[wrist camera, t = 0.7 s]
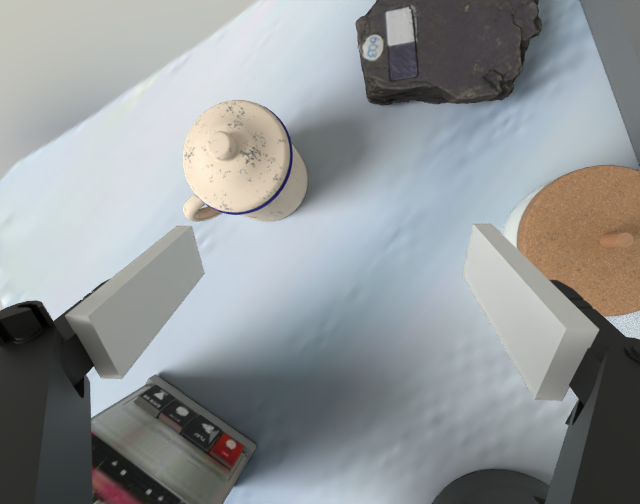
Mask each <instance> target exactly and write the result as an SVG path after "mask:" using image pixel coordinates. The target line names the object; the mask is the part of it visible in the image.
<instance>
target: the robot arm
mask: <svg viewBox="0 0 640 504" xmlns="http://www.w3.org/2000/svg"><path fill="white" fill-rule="evenodd" d="M204 274H205V273H204V269H203V266H202V262H201V258H200V255H199V251H198V247H197V244H196V240H195V236H194V233H193V229H192V226H176V227H175V228H174V229H172V230H171V231H170V232H169V233H167V234H166V235H165V236H164V237H162V238H161V239H160V240H159V241H157V242H156V243H155V244H154V245H152V246H151V247H150V248H149V249H147V250H146V251H145V252H144V253H142V254H141V255H140V256H139V257H137V258H136V259H135V260H134V261H132V262H131V263H130V264H129V265H127V266H126V267H125V268H124V269H122V270H121V271H120V272H119V273H117V274H116V275H115V276H114V277H112V278H111V279H109V280H107V281H105V282H103V283H101V284H100V285H99V286H98V287H96V288H95V289H94V290H93V291H92V293H89V294H87V295H86V296H85V297H84V298H83V300H80V301H79V302H77V303H76V304H75V305H74V306H72V307H71V308H70V309H68V310H67V311H66V312H65V313H63V314H62V315H61V316H60V317H58V318H57V319H56V320H54V321H53V320H52V318H51V317H50V315H49V313H48V312H47V310H46V308H45V307H44V305H43V303H42V302H40V301H26V302H22V303H18V304H15V305H12V306H10V307H7V308H5V309H3V310H1V311H0V504H93V486H92V445H91V404H90V382H89V379H88V377H87V376H86V374H87V373H88V372H89V371H90V370H91V369H92V367H93V366H94V367H95V369H96V371H97V372H98V374H99V376H100V378H104V379H122V378H123V377H124V376H125V375H126V373H127V372H128V371H129V369H130V368H131V367H132V366H133V364H134V363H135V362H136V360H137V359H138V358H139V357H140V355H141V354H142V353H143V352H144V350H145V349H146V348H147V346H148V345H149V344H150V343H151V341H152V340H153V339H154V338H155V336H156V335H157V334H158V332H159V331H160V330H161V329H162V327H163V326H164V325H165V323H166V322H167V321H168V320H169V318H170V317H171V316H172V315H173V313H174V312H175V311H176V309H177V308H178V307H179V306H180V304H181V303H182V302H183V301H184V299H185V298H186V297H187V295H188V294H189V293H190V292H191V290H192V289H193V288H194V286H195V285H196V284H197V283H198V281H199V280H200V279H201V278H202V276H203V275H204ZM462 277H463V278H464V280H465V282H466V283H467V285H468V287H469V288H470V290H471V292H472V294H473V295H474V297H475V299H476V300H477V302H478V304H479V306H480V307H481V309H482V311H483V312H484V314H485V316H486V318H487V319H488V321H489V323H490V324H491V326H492V328H493V329H494V331H495V333H496V335H497V336H498V338H499V340H500V341H501V343H502V345H503V347H504V348H505V350H506V352H507V353H508V355H509V357H510V359H511V360H512V362H513V364H514V365H515V367H516V369H517V371H518V372H519V374H520V376H521V377H522V379H523V381H524V382H525V384H526V386H527V388H528V389H529V391H530V393H531V394H532V396H533V398H534V399H537V400H557V401H562V400H563V399H564V397H565V395H566V393H567V391H568V389H569V387H571V389H572V390H573V392H574V393H575V394H576V396H577V397H578V398H579V399H578V401H577V403H576V405H575V407H574V408H573V410H572V412H571V414H570V416H569V417H568V419H567V421H566V424H567V425H569V426H568V429H567V433H566V436H565V439H564V442H563V446H562V449H561V452H560V455H559V459H558V462H557V465H556V468H555V472H554V475H553V478H552V482H551V485H550V487H549V486H548V485H546V484H545V483H543V482H541V481H539V480H537V479H535V478H533V477H530V476H527V475H524V474H521V473H517V472H513V471H506V470H485V471H479V472H475V473H471V474H468V475H466V476H463V477H461V478H459V479H457V480H456V481H454V482H452V483H451V484H450V485H448V486H447V487H446V488H445V489H444V490H443V491H442V492H441V493H440V494H439V495H438V496H437V497H436V499H435V500H434V502H433V503H432V504H640V340H639V339H636V338H629V337H625V336H624V335H623V334H622V333H621V332H620V331H619V330H618V329H616V328H615V327H614V326H613V325H612V324H611V323H610V322H609V321H608V320H607V319H606V318H604V317H603V316H602V315H601V314H600V313H599V312H598V311H597V310H596V309H593V307H592V306H591V305H590V304H589V303H588V302H587V301H585V300H584V298H583V297H581V296H580V295H579V294H578V293H577V292H576V291H575V290H574V289H573V288H571V287H569V286H567V285H565V284H564V283H562V282H560V281H558V280H548V279H547V278H546V277H545V276H544V275H543V274H542V273H541V272H540V271H539V270H538V269H537V268H536V267H535V266H534V265H533V264H532V263H531V262H530V261H529V260H528V259H527V258H526V257H525V256H524V255H523V254H522V253H521V252H520V251H519V250H518V249H517V248H516V247H515V246H514V245H513V244H512V243H511V242H510V241H509V240H508V239H507V238H505V237H504V236H503V235H502V234H501V233H500V232H499V231H498V230H497V229H496V228H495V227H494V226H493V225H492V224H473V228H472V232H471V237H470V242H469V246H468V251H467V256H466V261H465V265H464V270H463V275H462Z"/></svg>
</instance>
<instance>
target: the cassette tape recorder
mask: <svg viewBox="0 0 640 504" xmlns="http://www.w3.org/2000/svg"><path fill="white" fill-rule="evenodd" d="M91 445H92V486H93V504H223V503H224V501H225V499H226V498H227V496H228V495H229V493H230V491H231V490H232V488H233V486H234V485H235V483H236V481H237V479H238V478H239V476H240V474H241V473H242V471H243V469H244V468H245V466H246V464H247V463H248V461H249V459H250V457H251V456H252V454H253V452H254V451H255V449H256V447H257V445H256V444H254V443H253V442H252V441H250V440H249V439H247V438H246V437H244V436H243V435H242V434H240V433H239V432H237V431H236V430H234V429H233V428H231V427H230V426H229V425H227V424H226V423H224V422H223V421H221V420H220V419H219V418H217V417H216V416H214V415H213V414H211V413H210V412H209V411H207V410H206V409H204V408H203V407H201V406H200V405H199V404H197V403H196V402H194V401H193V400H191V399H190V398H188V397H187V396H186V395H184V394H183V393H181V392H180V391H178V390H177V389H176V388H174V387H173V386H171V385H170V384H168V383H167V382H166V381H164V380H163V379H161V378H160V377H158V376H157V375H156V374H155V375H154V376H152V377H150V378H149V379H148V380H147V382H146V384H145V386H143V387H141V388H140V389H138V390H136V391H135V392H133V393H131V394H130V395H128V396H127V397H125V398H123V399H122V400H120V401H118V402H117V403H115V404H113V405H112V406H110V407H109V408H107V409H105V410H104V411H102V412H100V413H99V414H97V415H95V416H94V417H92V418H91Z"/></svg>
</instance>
